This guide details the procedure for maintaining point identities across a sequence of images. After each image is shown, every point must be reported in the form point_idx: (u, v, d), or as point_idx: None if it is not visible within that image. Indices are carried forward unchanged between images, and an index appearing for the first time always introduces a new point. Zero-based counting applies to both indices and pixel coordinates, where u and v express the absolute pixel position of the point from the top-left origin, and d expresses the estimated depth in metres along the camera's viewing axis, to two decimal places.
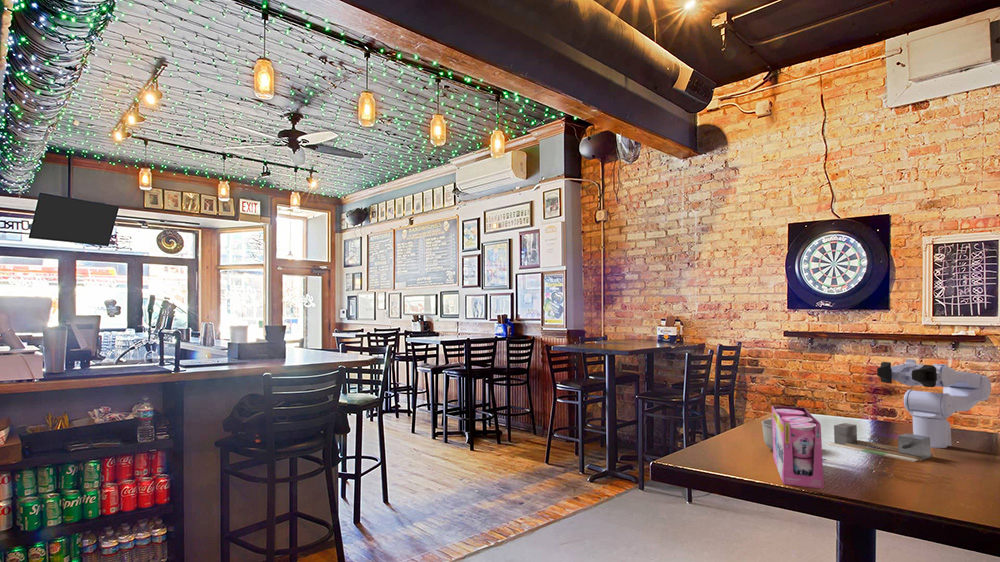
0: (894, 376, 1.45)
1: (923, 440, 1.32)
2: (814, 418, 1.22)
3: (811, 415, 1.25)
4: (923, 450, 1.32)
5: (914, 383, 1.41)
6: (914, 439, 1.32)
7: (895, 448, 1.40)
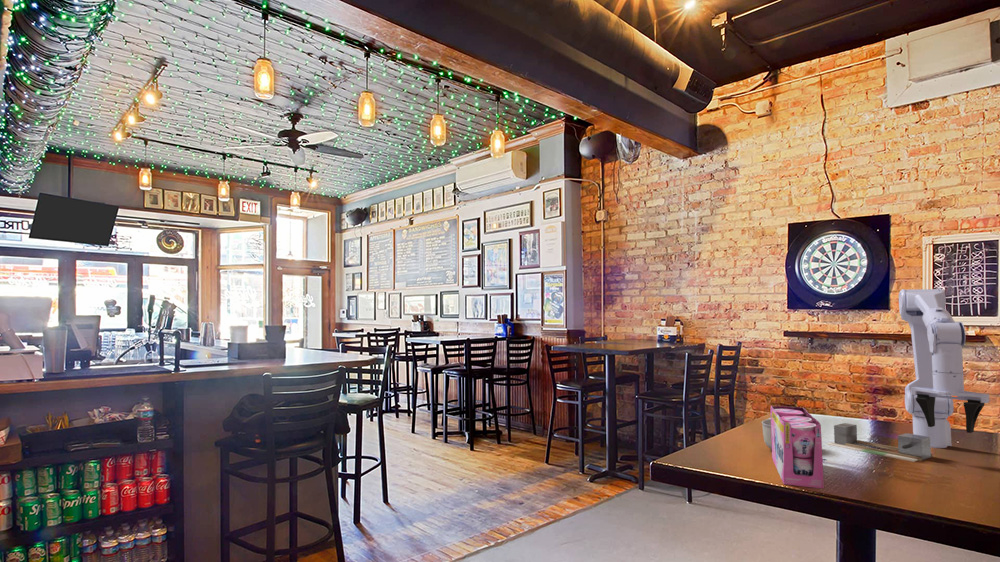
0: None
1: (923, 440, 1.32)
2: (814, 418, 1.22)
3: (810, 415, 1.25)
4: (923, 450, 1.32)
5: None
6: (914, 439, 1.32)
7: (895, 448, 1.40)
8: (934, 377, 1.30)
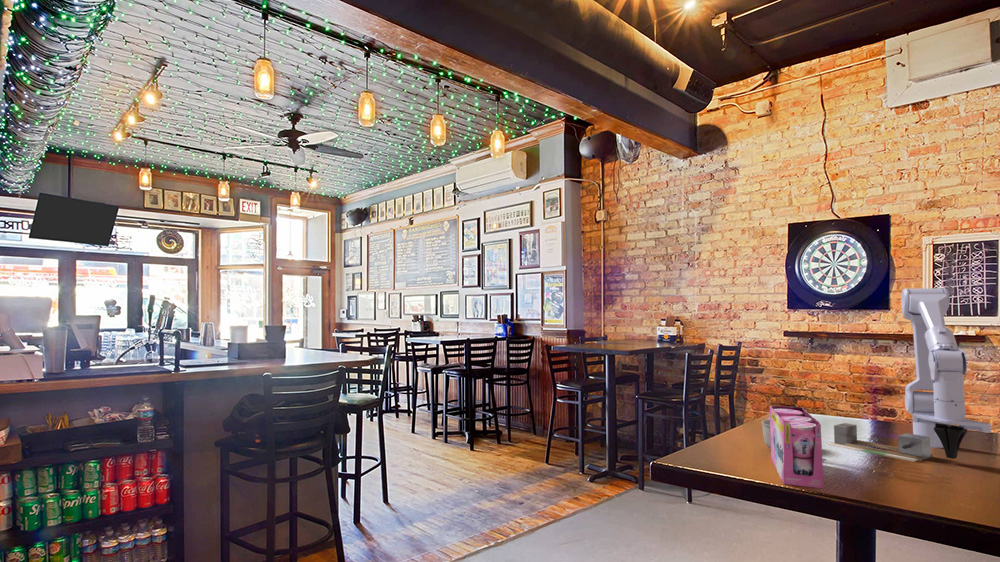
0: None
1: (923, 440, 1.32)
2: (813, 418, 1.22)
3: (810, 415, 1.26)
4: (923, 450, 1.32)
5: None
6: (914, 439, 1.32)
7: (895, 448, 1.40)
8: (936, 405, 1.29)
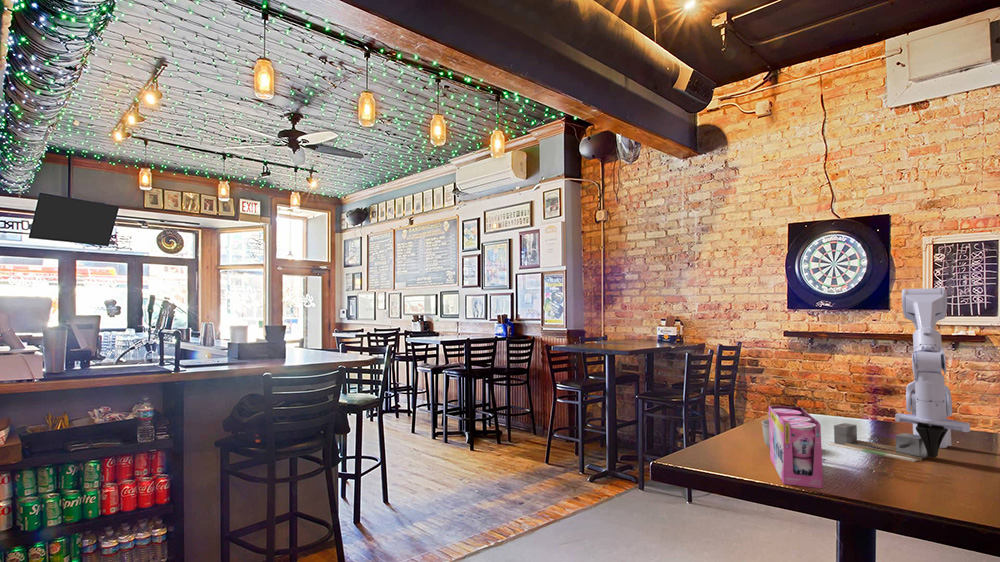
0: None
1: (920, 440, 1.32)
2: (812, 418, 1.22)
3: (809, 415, 1.26)
4: (921, 450, 1.32)
5: None
6: (911, 439, 1.33)
7: (895, 448, 1.40)
8: (917, 405, 1.32)
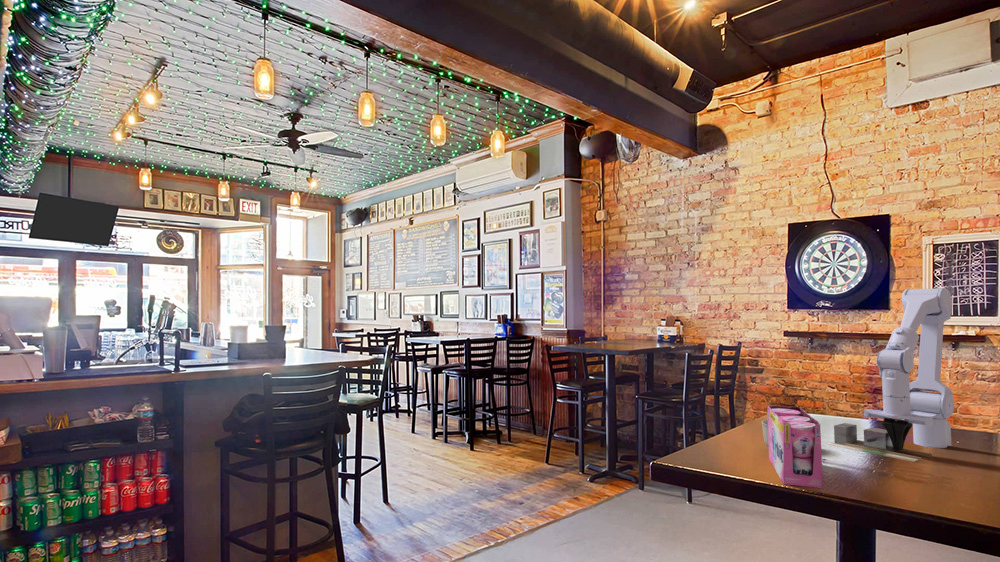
0: None
1: (887, 434, 1.38)
2: (812, 418, 1.23)
3: (808, 415, 1.26)
4: (887, 444, 1.38)
5: None
6: (878, 433, 1.39)
7: None
8: (884, 401, 1.38)
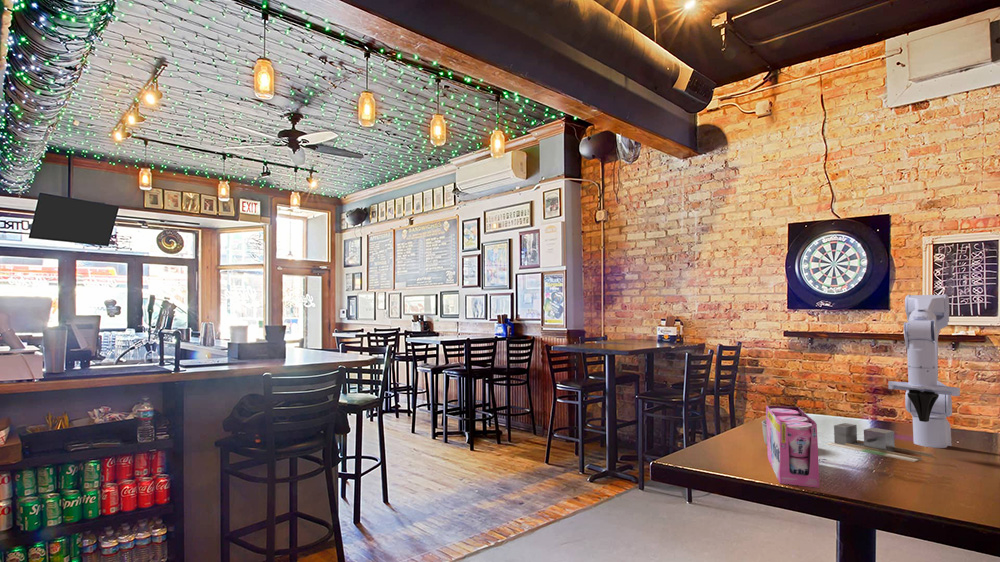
0: None
1: (887, 434, 1.38)
2: (809, 417, 1.23)
3: None
4: (887, 444, 1.38)
5: None
6: (878, 433, 1.39)
7: (895, 448, 1.40)
8: (909, 372, 1.37)
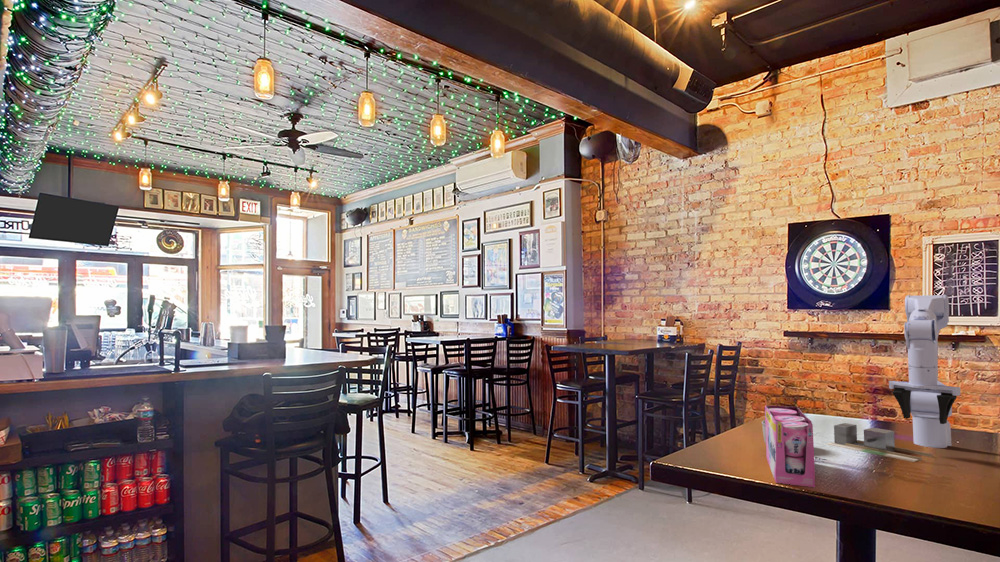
0: None
1: (887, 434, 1.38)
2: (806, 417, 1.23)
3: (803, 414, 1.26)
4: (887, 444, 1.38)
5: None
6: (878, 433, 1.39)
7: (895, 448, 1.40)
8: (910, 372, 1.37)
